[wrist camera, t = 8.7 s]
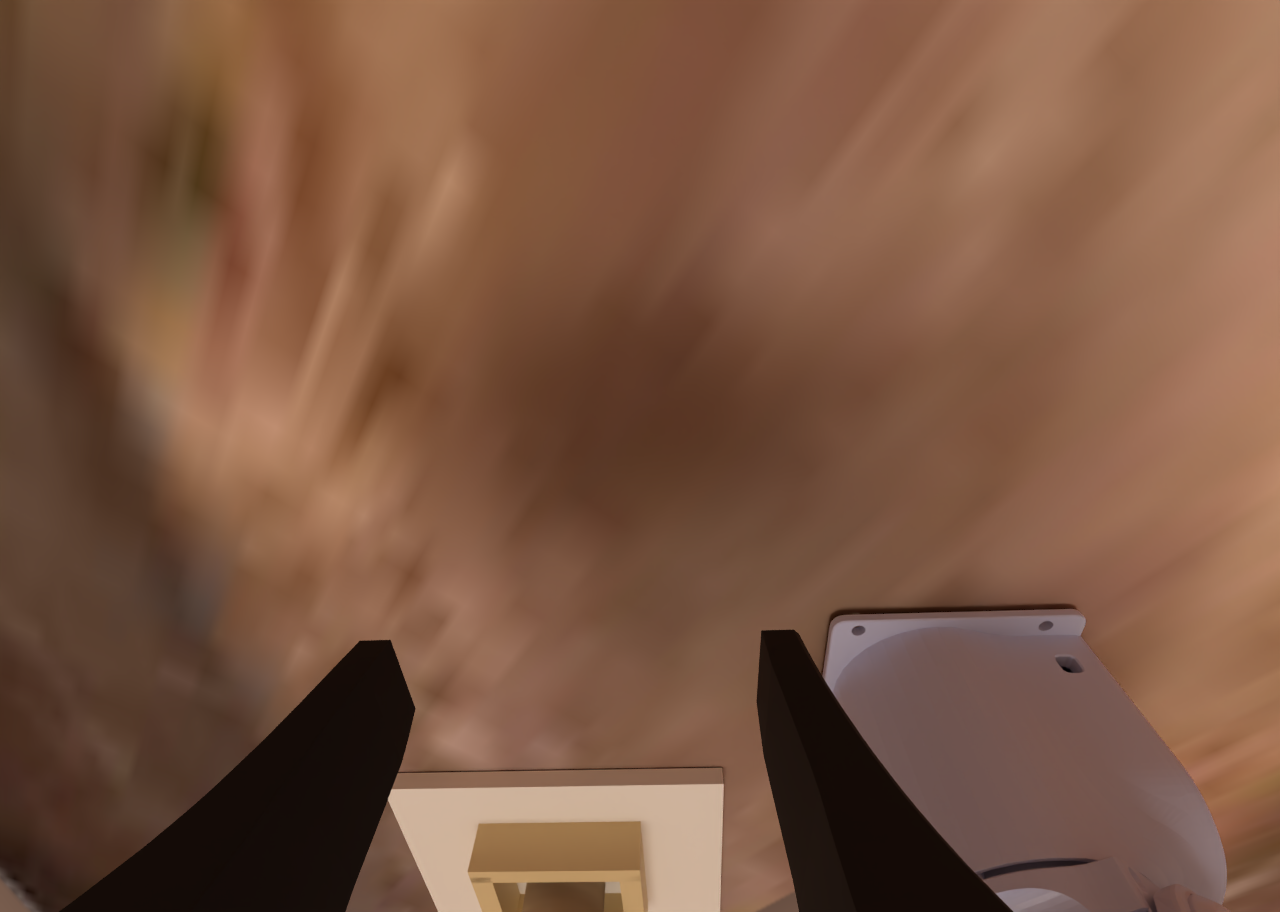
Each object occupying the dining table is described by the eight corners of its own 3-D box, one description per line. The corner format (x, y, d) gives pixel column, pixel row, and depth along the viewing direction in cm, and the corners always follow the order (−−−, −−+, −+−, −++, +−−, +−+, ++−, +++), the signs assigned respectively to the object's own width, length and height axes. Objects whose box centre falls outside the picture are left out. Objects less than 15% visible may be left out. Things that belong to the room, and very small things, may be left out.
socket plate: (721, 767, 29) (728, 833, 27) (718, 911, 36) (723, 974, 34) (389, 773, 30) (364, 837, 27) (449, 913, 37) (434, 974, 34)
